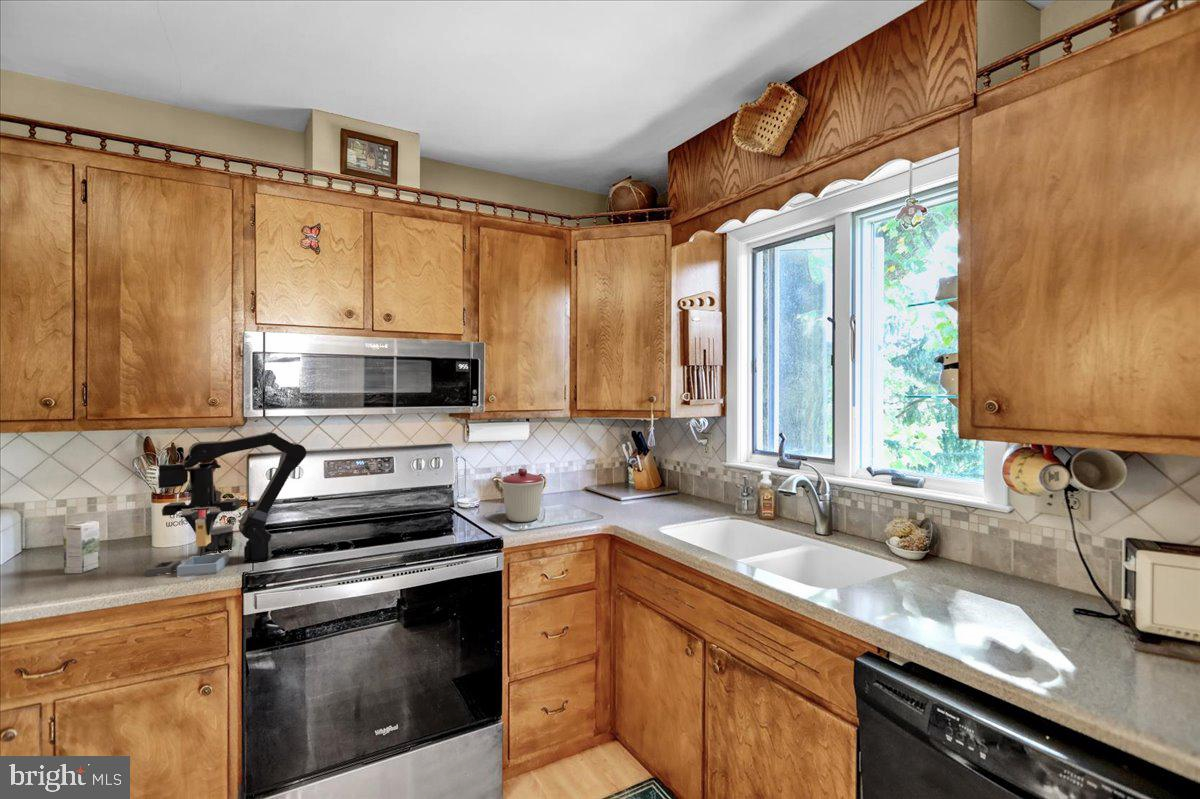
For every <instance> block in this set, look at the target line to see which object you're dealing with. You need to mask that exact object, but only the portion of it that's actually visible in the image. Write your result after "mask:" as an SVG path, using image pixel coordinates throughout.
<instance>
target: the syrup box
mask: <svg viewBox="0 0 1200 799" xmlns="http://www.w3.org/2000/svg"><path fill="white" fill-rule="evenodd" d="M62 528H63V529H62V532H63V534H62V535H63V573H64V574H84V573H87V572H90V571H92V570H96V569H98V568H100V560H101V559H100V555H101V554H100V521H97V520H82V521H81V520H80V521H77V522H74V523H73V522H72V523H70V524H66V525H63V527H62ZM95 568H96V569H95Z"/></svg>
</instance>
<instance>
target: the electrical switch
mask: <svg viewBox="0 0 1200 799" xmlns="http://www.w3.org/2000/svg"><path fill="white" fill-rule="evenodd" d="M233 537H234V525H233V524H231V523H229V524H224V525H218V526H213V528H212V530H211V542H210V543H209V544H208V545H206V546H198V547H197V548H198V550H197V551H198V552H197V554H198V556H200V555H201V554H202V555H201V556H203V555H206V554H210V553H215V551H218V552H220V551H223V550H229V549H230V550H232V551H233V539H234V538H233Z"/></svg>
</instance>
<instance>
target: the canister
mask: <svg viewBox="0 0 1200 799" xmlns="http://www.w3.org/2000/svg"><path fill="white" fill-rule="evenodd" d="M517 472H518V473H517V474H509V475H506V476H505V477H503V478H501V480H500V483H501V484H502V485H501V486H502V492H503V501H504V508H505V515H506V517H507V519H508V520H509V521H511V522H515V523H516V522H517V523H529V522H533V521H536V520H537V519H538V518H539V516H540V513H541V506H542V500H543V498H542V497H543V488H544V487H543V486H544V482H545V481H546V480H545V478H543V477H542V476H541V475H538V474H534V473H533V474H530V473H528V470H527V469H526V468H520V469H519V470H518V471H517Z"/></svg>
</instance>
